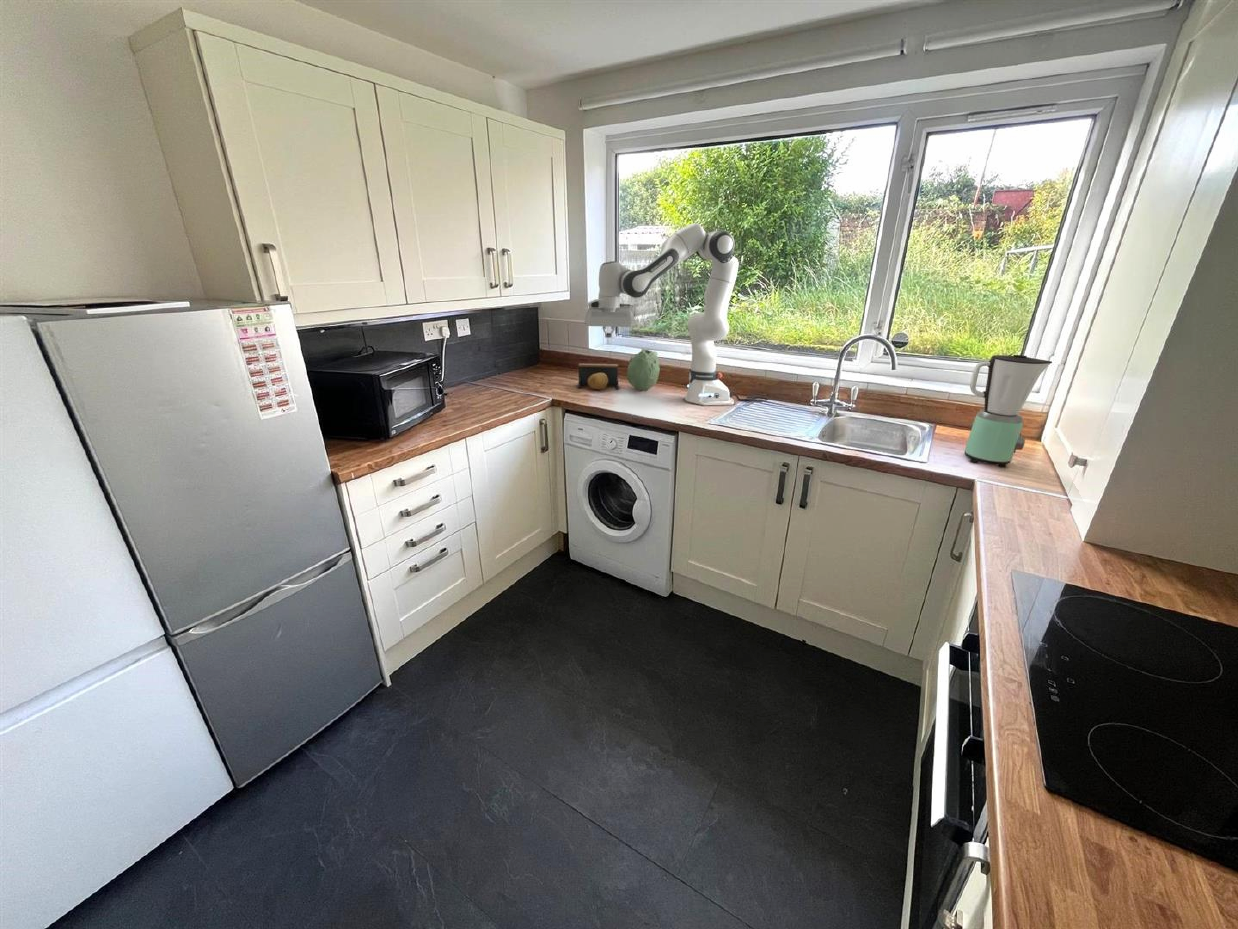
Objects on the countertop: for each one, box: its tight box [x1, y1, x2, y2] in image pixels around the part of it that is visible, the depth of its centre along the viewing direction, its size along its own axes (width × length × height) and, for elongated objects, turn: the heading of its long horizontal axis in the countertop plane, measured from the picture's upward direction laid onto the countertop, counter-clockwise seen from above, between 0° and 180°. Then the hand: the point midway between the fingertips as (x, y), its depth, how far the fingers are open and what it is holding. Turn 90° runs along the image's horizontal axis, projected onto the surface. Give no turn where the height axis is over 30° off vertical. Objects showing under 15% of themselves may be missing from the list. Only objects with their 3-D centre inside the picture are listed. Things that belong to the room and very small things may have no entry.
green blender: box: [964, 354, 1053, 469], centre depth 161 cm, size 19×13×35 cm
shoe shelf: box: [577, 362, 620, 391], centre depth 250 cm, size 20×9×11 cm, turn 94°
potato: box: [587, 373, 608, 390], centre depth 246 cm, size 10×14×8 cm
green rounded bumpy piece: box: [626, 347, 661, 392], centre depth 245 cm, size 16×19×20 cm
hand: (608, 337), depth 211 cm, fingers closed
